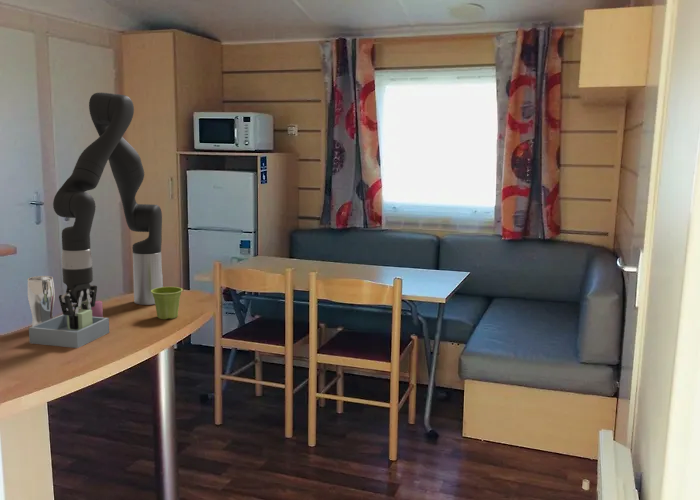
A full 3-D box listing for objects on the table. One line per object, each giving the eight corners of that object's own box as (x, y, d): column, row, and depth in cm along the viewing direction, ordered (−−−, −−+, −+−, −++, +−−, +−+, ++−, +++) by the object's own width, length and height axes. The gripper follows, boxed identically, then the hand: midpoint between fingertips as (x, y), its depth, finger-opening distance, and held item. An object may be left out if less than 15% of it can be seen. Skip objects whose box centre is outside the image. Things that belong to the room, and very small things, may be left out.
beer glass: (30, 326, 189) (27, 276, 187) (56, 324, 192) (54, 275, 189) (29, 333, 183) (26, 281, 180) (56, 331, 186) (53, 280, 183)
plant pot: (171, 322, 197) (170, 294, 195) (145, 318, 200) (144, 291, 199) (189, 315, 206) (188, 288, 204) (164, 311, 209) (163, 285, 207)
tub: (64, 328, 188) (63, 313, 188) (109, 332, 185) (108, 317, 185) (29, 343, 174) (28, 327, 174) (77, 348, 171) (77, 332, 171)
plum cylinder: (93, 319, 198) (92, 300, 197) (106, 320, 198) (105, 301, 197) (84, 322, 194) (83, 303, 193) (97, 324, 193) (96, 304, 192)
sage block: (92, 326, 180) (92, 310, 179) (82, 330, 175) (81, 314, 175) (78, 324, 181) (77, 308, 180) (67, 329, 176) (66, 312, 176)
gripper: (73, 271, 168) (76, 335, 170) (105, 261, 181) (107, 320, 184) (47, 269, 169) (51, 332, 172) (81, 259, 183) (83, 318, 186)
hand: (80, 326), depth 178 cm, fingers closed on sage block, 4 cm apart
